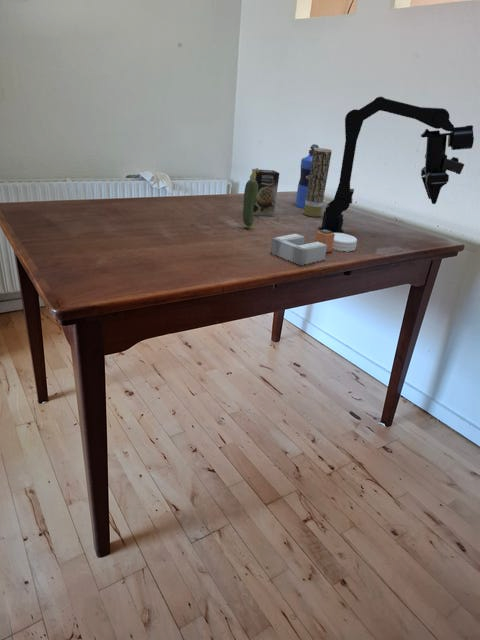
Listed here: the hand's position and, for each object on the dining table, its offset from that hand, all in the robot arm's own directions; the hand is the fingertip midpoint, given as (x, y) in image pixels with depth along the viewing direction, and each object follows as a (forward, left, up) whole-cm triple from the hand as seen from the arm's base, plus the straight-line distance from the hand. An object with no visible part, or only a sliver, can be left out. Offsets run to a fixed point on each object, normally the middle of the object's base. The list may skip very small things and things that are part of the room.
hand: (432, 201), depth 150 cm
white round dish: (-12, -30, -15) cm, 36 cm away
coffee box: (-54, -25, -15) cm, 61 cm away
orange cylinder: (-12, -39, -15) cm, 44 cm away
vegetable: (-41, -44, -15) cm, 62 cm away
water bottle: (-56, +4, -15) cm, 58 cm away
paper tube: (-44, -6, -15) cm, 47 cm away
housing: (-12, -51, -15) cm, 54 cm away
